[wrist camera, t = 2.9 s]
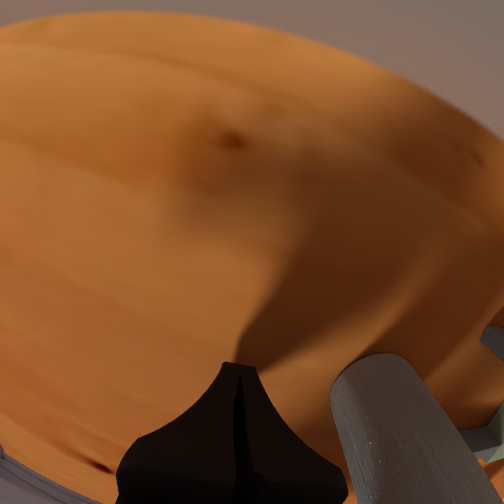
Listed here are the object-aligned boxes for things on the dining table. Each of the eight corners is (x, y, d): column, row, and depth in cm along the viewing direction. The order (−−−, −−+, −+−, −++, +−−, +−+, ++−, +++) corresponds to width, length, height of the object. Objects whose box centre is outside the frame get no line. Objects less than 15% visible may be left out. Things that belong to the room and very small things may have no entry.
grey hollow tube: (334, 429, 14) (377, 595, 4) (321, 369, 13) (382, 581, 3) (411, 402, 14) (489, 544, 4) (410, 338, 13) (533, 499, 3)
